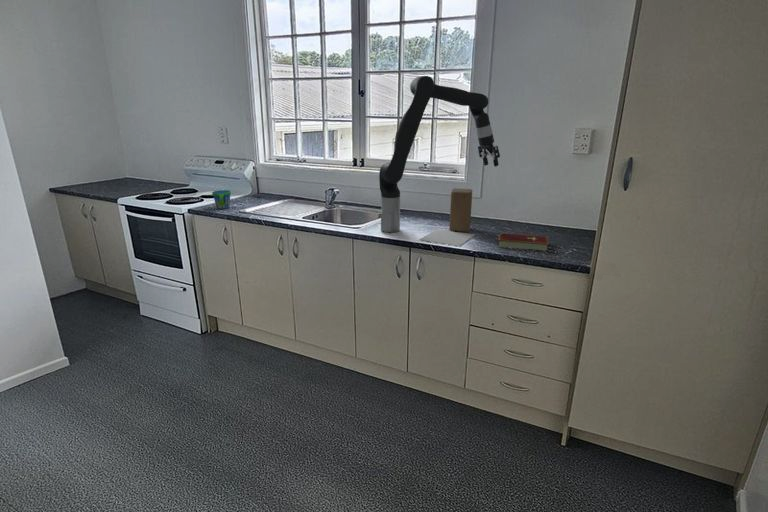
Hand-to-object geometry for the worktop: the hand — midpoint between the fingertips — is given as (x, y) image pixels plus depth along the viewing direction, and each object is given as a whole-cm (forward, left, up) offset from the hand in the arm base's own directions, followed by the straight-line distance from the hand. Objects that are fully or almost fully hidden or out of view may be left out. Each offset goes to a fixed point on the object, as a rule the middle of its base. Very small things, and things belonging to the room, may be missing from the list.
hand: (491, 165), depth 236 cm
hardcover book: (-36, -27, -30) cm, 54 cm away
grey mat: (-41, +7, -30) cm, 51 cm away
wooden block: (-24, +7, -30) cm, 39 cm away
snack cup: (-47, +150, -30) cm, 160 cm away
